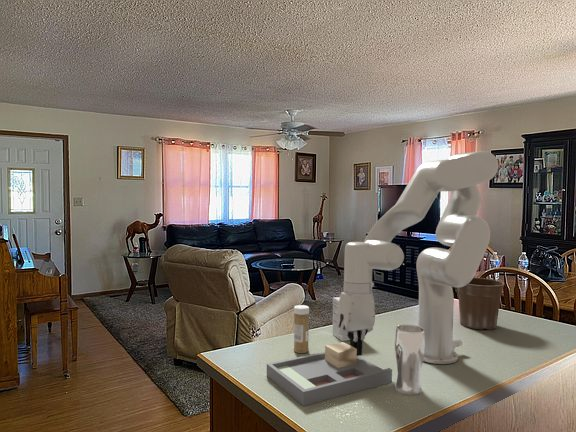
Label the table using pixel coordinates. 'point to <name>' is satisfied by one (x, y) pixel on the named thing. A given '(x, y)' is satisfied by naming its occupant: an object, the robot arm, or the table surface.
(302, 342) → the sprinkles bottle
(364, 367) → the box
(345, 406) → the table surface
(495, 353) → the table surface
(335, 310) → the supplement box
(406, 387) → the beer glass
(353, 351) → the maple block
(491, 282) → the plant pot
